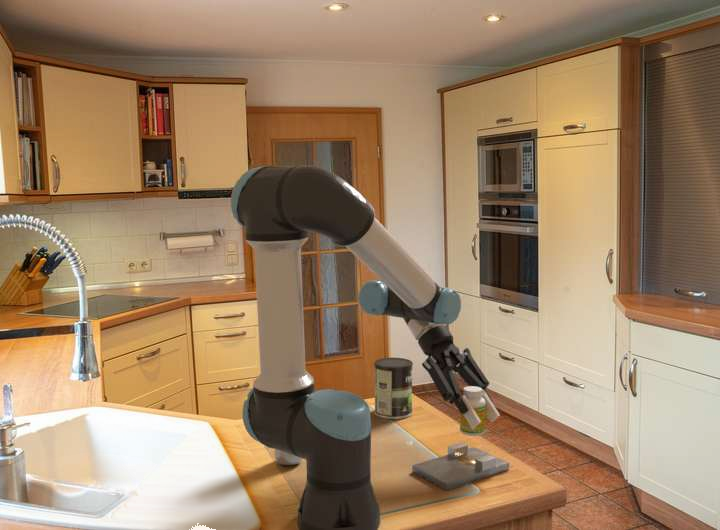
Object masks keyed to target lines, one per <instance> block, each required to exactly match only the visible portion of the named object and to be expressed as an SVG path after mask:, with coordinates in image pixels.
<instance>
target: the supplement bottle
mask: <svg viewBox="0 0 720 530" xmlns="http://www.w3.org/2000/svg"><path fill="white" fill-rule="evenodd" d="M464 395H465V396H466V397H467V399H468V401H469V402H470V404H471V406H472V407H473V409H474V410H475V412H476V414H477V415H478V417H479V419H480V420H481V423H479V424H478V425H477V426H476V427H475V428H473V429H472V428H471V426H470V425H469V423H468V422H467V420H466V418H465V417H464V415H463V414H461V413H460V412H459V431H460V433H461V434H463V435H465V436H471V437H478V436H483V435H484V434H485V432H486V414H485V405H486V404H485V400H484V399H483V398H482V397H481V396H482V388H480V387H478V386H477V387H476V386H469V385H467V386H464V387H463V396H464Z"/></svg>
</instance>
